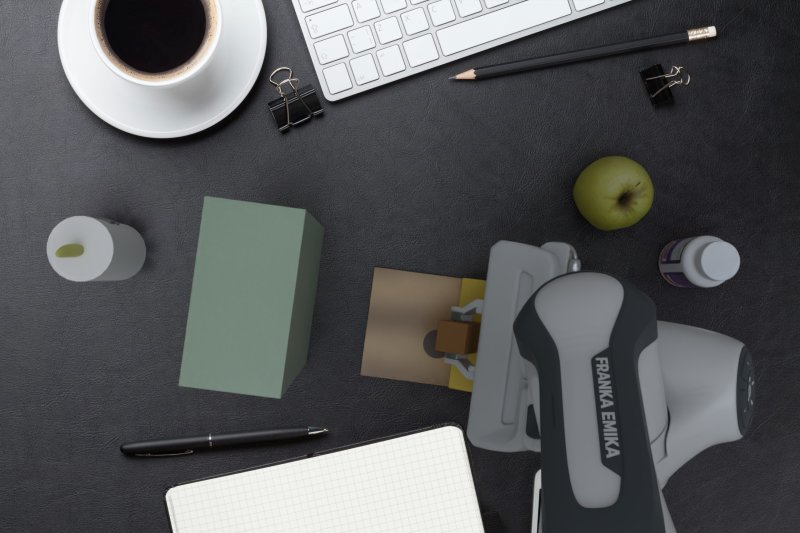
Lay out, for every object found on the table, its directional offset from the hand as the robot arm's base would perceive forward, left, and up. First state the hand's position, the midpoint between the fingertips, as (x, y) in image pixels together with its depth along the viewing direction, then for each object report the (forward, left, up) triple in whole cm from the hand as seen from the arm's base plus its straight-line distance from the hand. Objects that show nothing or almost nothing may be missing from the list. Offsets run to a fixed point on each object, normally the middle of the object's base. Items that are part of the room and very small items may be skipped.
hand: (451, 334), depth 78 cm
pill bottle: (+11, -25, -6) cm, 28 cm away
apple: (+17, -15, -6) cm, 24 cm away
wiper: (0, -3, -4) cm, 5 cm away
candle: (+4, +37, -6) cm, 37 cm away
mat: (0, -1, -6) cm, 6 cm away
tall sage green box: (+2, +19, -6) cm, 20 cm away
